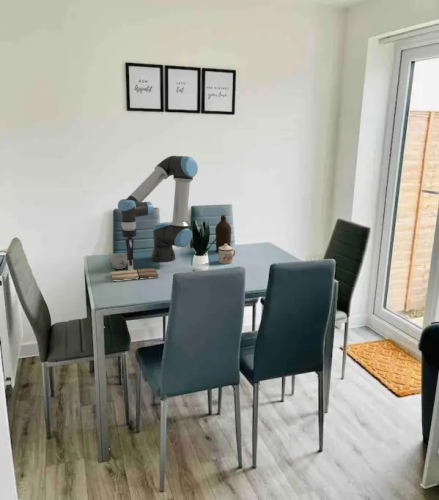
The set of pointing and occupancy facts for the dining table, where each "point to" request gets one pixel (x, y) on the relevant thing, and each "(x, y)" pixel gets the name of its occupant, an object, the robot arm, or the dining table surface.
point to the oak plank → (124, 274)
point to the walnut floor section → (147, 272)
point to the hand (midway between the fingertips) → (130, 270)
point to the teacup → (118, 260)
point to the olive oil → (222, 233)
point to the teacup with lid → (226, 254)
